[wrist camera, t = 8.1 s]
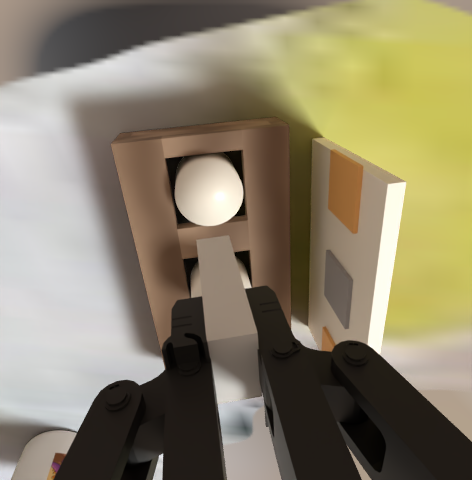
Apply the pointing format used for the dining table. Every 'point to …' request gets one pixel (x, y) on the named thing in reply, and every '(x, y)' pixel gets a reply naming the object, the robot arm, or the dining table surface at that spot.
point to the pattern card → (351, 246)
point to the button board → (185, 234)
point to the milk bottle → (43, 455)
